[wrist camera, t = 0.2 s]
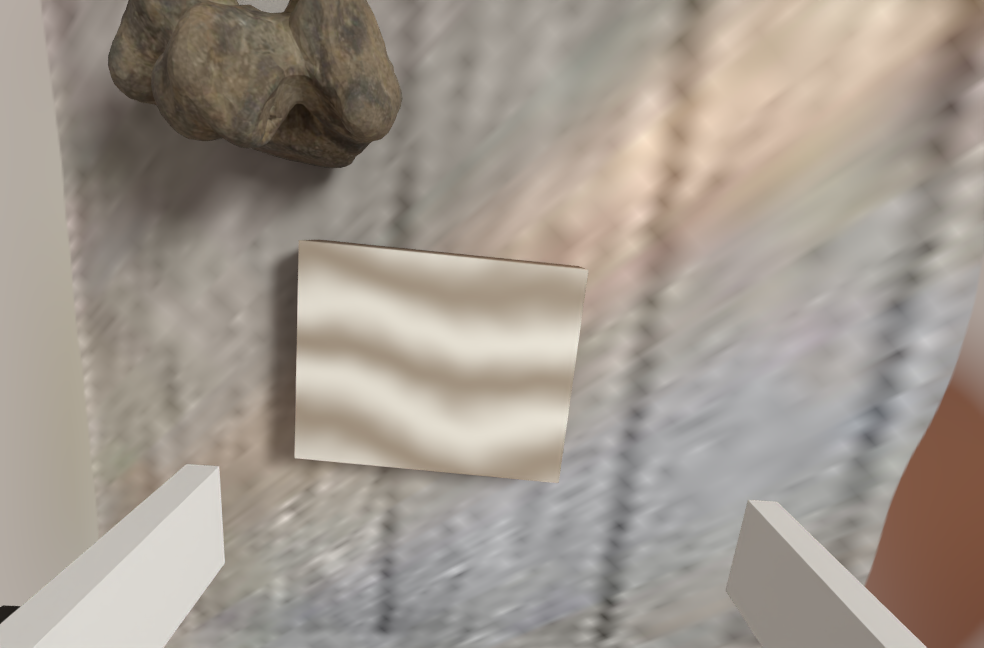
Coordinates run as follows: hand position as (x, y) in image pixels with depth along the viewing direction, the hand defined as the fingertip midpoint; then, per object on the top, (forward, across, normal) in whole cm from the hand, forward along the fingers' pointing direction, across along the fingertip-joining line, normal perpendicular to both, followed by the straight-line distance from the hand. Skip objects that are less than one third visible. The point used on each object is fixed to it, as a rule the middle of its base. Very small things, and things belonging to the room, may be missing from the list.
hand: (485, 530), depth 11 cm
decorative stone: (+28, -14, +15) cm, 35 cm away
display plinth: (+27, -3, -4) cm, 28 cm away
